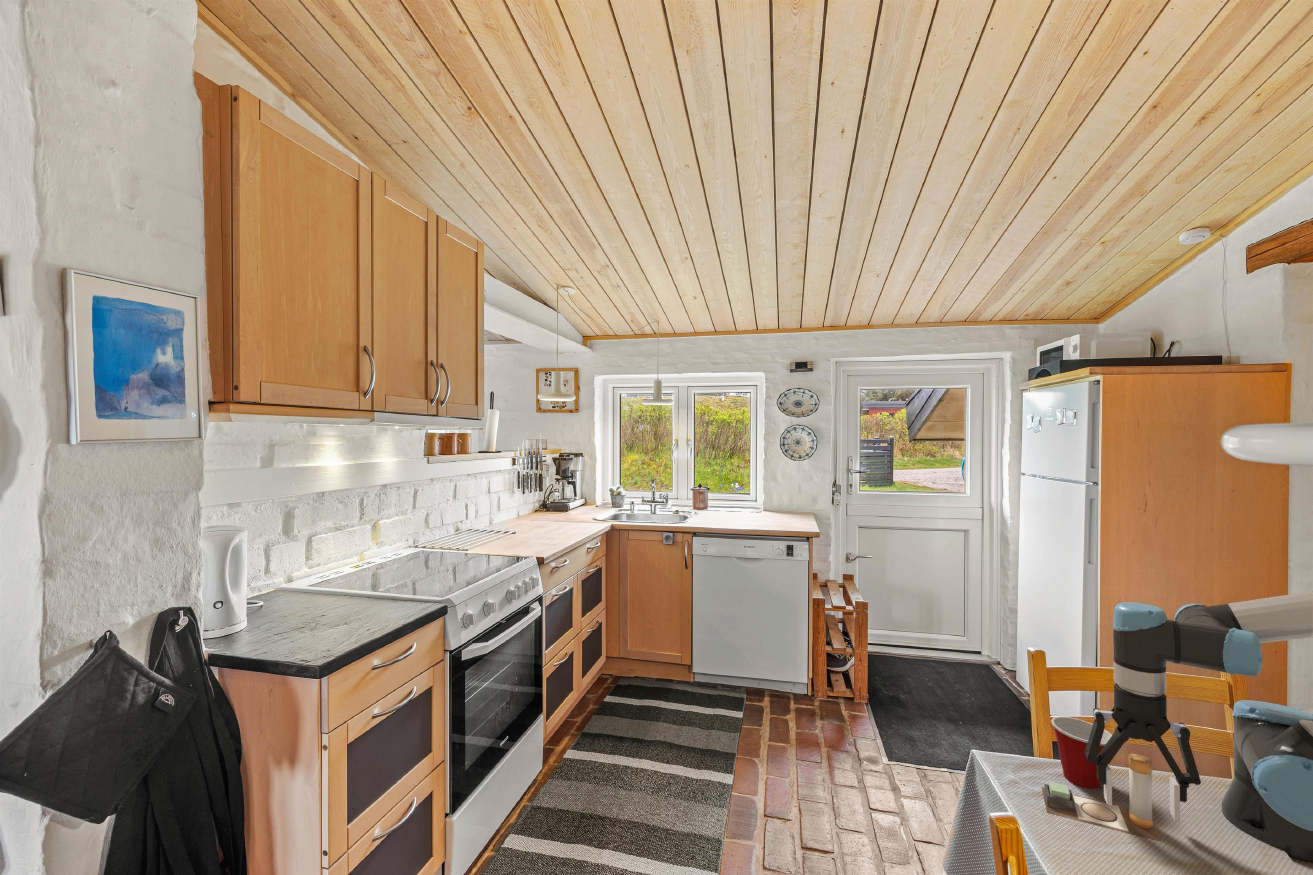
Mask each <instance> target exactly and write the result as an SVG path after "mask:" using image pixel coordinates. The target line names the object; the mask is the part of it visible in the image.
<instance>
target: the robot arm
mask: <svg viewBox="0 0 1313 875" xmlns="http://www.w3.org/2000/svg"><path fill="white" fill-rule="evenodd" d="M1173 619H1174V620H1172V619H1168V617H1167V615H1166V612H1165V610H1164V609H1163V608H1161V607H1159V606H1156V605H1153V604H1148V603H1147V604H1146V603H1143V602H1135V601H1127V602H1126V601H1125V602H1120V603H1117V604H1116V605H1115V607H1114V608H1113V619H1112V620H1113V621H1112V622H1113V624H1112V635H1113V636H1112V638H1113V682H1114V683H1115V684H1114V685H1113V707H1112V709H1111V710H1101V709H1100V708H1099V707H1094V708H1093V711H1092V712H1093V717H1094V721H1093V723H1092V724H1093V726H1092V730H1091V733H1090V736H1089V740H1088V743H1087V747H1086V750H1085V754H1086V757H1087V760H1088V761H1089V762H1091V763H1095V764H1096V765H1097V778H1098V780H1099V783H1100V785H1103V797H1104V800H1105V802H1106V803H1107V804H1108V805H1112V804H1113V777H1112V776H1113V771H1112V769H1111V766H1110V764H1111V762H1112V761H1113V759H1114V758H1115V756H1116V755H1117V754H1118V752H1119V751H1120V750H1121V748H1122V746H1123V745H1124V744H1125V743H1126V742H1128V741H1129V739H1132V740H1142V741H1145V742H1148V743H1153V742H1154V743H1155V744H1156V746H1157V748H1158V749H1159V751H1160V753H1161V754H1162V756H1163V758H1164V760H1165V761H1166V763H1167V765H1168V767H1169V768H1170V769H1171V771H1172V773H1173V775H1174V777H1173V776H1169V777H1168V779H1169V780H1168V781H1169V813H1170V814H1171V816H1172V819H1173V820H1174V821H1175V822H1181V803H1186V802H1187V801H1188V788H1190V785H1192V784H1193V785H1195V786H1199V785H1201V784H1202V780H1201V776H1200V773H1199V771H1198V768H1197V763H1196V760H1195V758H1194V754H1193V750H1192V748H1191V744H1190V737H1191V731H1190V729H1189V728H1188V727H1187V725H1186V724H1185V723H1184V722H1178V723H1175V722H1171V721H1169V720H1168V718H1167V716H1168V714H1167V710H1168V709H1167V708H1168V707H1167V704H1168V703H1167V702H1168V701H1167V698H1168V697H1167V695H1166V693H1167V663H1172V664H1177V665H1181V666H1182V665H1183V666H1188V667H1195V668H1199V669H1205V670H1210V671H1216V672H1222V673H1227V674H1229V675H1238V676H1239V675H1240V676H1248V677H1256V676H1258V675H1260V674H1261V672H1262V670H1263V669H1262V668H1263V651H1262V645H1261V644H1265V643H1274V642H1284V641H1293V640H1301V639H1310V638H1313V590H1310V591H1305V592H1297V593H1291V594H1285V595H1284V594H1283V595H1278V596H1270V597H1265V598H1257V599H1256V598H1255V599H1252V600H1251V599H1250V600H1245V601H1244V600H1243V601H1238V602H1230V603H1225V604H1215V605H1206V604H1201V603H1189V604H1185V605H1182V606H1181V607H1180V608H1178V609H1177V610H1176V612H1175V614H1174V618H1173ZM1231 716H1232V718H1233V779H1232V781H1231V782H1230V784H1229V787H1228V789H1227V791H1226V793H1225V794H1224V796H1223V798H1222V801H1221V812H1222V813H1221V814H1222V815H1223V816H1224V818H1225V819H1226V820H1227V821H1228V822H1229V823H1230V824H1231V825H1233V826H1234V827H1235V828H1237V829H1238V830H1240V831H1241V832H1243V833H1245V834H1246V835H1249V836H1250V837H1252V838H1253V839H1256V840H1257V841H1260V842H1262V843H1265V844H1267V845H1270V846H1272V847H1274V848H1276V849H1280V850H1283V851H1284V852H1285V854H1287V855H1288V857H1291V858H1295V859H1299V860H1303V861H1307V862H1311V863H1313V713H1310V712H1308V711H1304V710H1301V709H1299V708H1298V709H1297V708H1294V707H1291V706H1287V705H1283V704H1277V703H1273V702H1272V703H1271V702H1266V701H1260V700H1251V699H1250V700H1248V699H1243V700H1238V701H1236V702H1235V703H1234V705H1233V712H1232V713H1231ZM1110 720H1114V722H1115V724H1117V726H1116V727H1115V729H1114V732H1113V734H1112V736H1111V738H1110V739H1109V740H1108V742H1107V743H1106V745H1105V746H1104V747H1103V749H1102V750H1101V751H1100V753H1099V754H1098V755H1097V752H1098V749H1099V746H1100V742H1101V739H1102V736H1103V732H1104V729H1105V728H1106V725H1107V724H1109V722H1110ZM1105 730H1106V729H1105ZM1169 730H1171V732H1172V734H1173V736H1175V737H1176V741H1177V744H1178V746H1179V751H1180V755H1181V757H1182V759H1183V763H1184V767H1185V770H1186V772H1182V771H1181V769H1180V767H1179V765H1178V763H1177V762H1176V760H1175V759H1174V757H1173V755H1172V753H1171V752H1170V751H1169V750H1170V749H1169V748H1168V747H1167V745H1166V743H1165V741H1164V740H1163V738H1162V736H1164V734H1166V733H1167V732H1168V731H1169Z"/></svg>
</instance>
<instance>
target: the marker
mask: <svg viewBox="0 0 1313 875" xmlns="http://www.w3.org/2000/svg"><path fill="white" fill-rule="evenodd" d="M1128 769H1129V770H1128V773H1129V774H1128V779H1129V783H1128V785H1129V787H1128V788H1129V789H1128V790H1129V800H1128V801H1129V808H1130V810H1129V820H1130V822H1131V823H1133V824H1134V825H1136V826H1138V827H1140V828H1144V829H1151V828H1152V827H1153V824H1154V823H1153V824H1152V822H1153V785H1152V784H1153V782H1152V780H1153V779H1152V777H1153V776H1152V774H1153V762H1152V760H1151V759H1150V758H1149V757H1146V756H1144V755H1142V754H1137V753H1130V754H1128Z"/></svg>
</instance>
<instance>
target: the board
mask: <svg viewBox="0 0 1313 875" xmlns="http://www.w3.org/2000/svg"><path fill="white" fill-rule="evenodd" d="M1043 786H1044V787H1042V786H1041V791H1042V796H1043V800H1044V805H1045V809H1046V813H1047V814H1050V815H1055V816H1059V817H1062V818H1067V819H1070V820H1073V821H1074V820H1075V821H1078V822H1082V823H1087V824H1090V825H1093V826H1098V827H1103V828H1105V829H1110V830H1113V831H1118V832H1121V833H1125V834H1130V835H1132V836H1136V837H1141V838H1145V839H1149V840H1152V841H1157V842H1161V843H1163V841H1162V838H1161V837H1160V835H1159V833H1158V831H1157V828H1156V826H1155V824H1154V822H1153V821H1152V824H1153V827H1152V828H1151V829H1144V828H1140V827H1138V826H1136V825H1134V824H1133V823H1131V822H1130V820H1129V810H1130V807H1128V806H1123V805H1119V804H1114V803H1112V805H1108V804H1107V803H1106V801H1103V800H1099V799H1093V798H1090V797H1085V796H1081V795H1077V794H1073V792H1072V789H1069V788H1068V790H1069V793H1070V800H1067V799H1063V798H1059V797H1054V796H1050V793H1049V783H1044V785H1043Z"/></svg>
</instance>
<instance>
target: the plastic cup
mask: <svg viewBox="0 0 1313 875" xmlns="http://www.w3.org/2000/svg"><path fill="white" fill-rule="evenodd" d="M1050 723H1051V724H1052V726H1053V729H1054V733H1055V738H1056V742H1057V749H1058V754H1059V759H1060V760H1059V761H1060V763H1061V764H1060V765H1061V767H1062V773H1063V776H1064V778H1065V779H1066V780H1067V781H1068V782H1069V783H1071V784H1073V785H1076V786H1078V787H1081V788H1084V789H1088V790H1089V789H1091V790H1093V789H1096V790H1097V789H1099V788H1100V786H1101V783H1099V780H1098V778H1097V765H1096V764H1095V763H1091V762H1089V761H1088V760H1087V757H1086V754H1085V750H1086V747H1087V743H1088V740H1089V736H1090V733H1091V730H1092V726H1093V723H1092V722H1088V721H1086V720H1082V719H1080V718H1075V717H1070V716H1054V717H1053V718H1052V719H1051V720H1050ZM1112 735H1113V734H1112V733H1111V732H1110V731H1107V730H1106V729H1104V732H1103V736H1102V739H1101V742H1100V746H1099V749H1098V752H1097V755H1098V754H1099V753H1100V751H1101V750H1102V749H1103V747H1104V746H1105V745H1106V743H1107V742H1108V740H1109V739H1110V738H1111V736H1112Z"/></svg>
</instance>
